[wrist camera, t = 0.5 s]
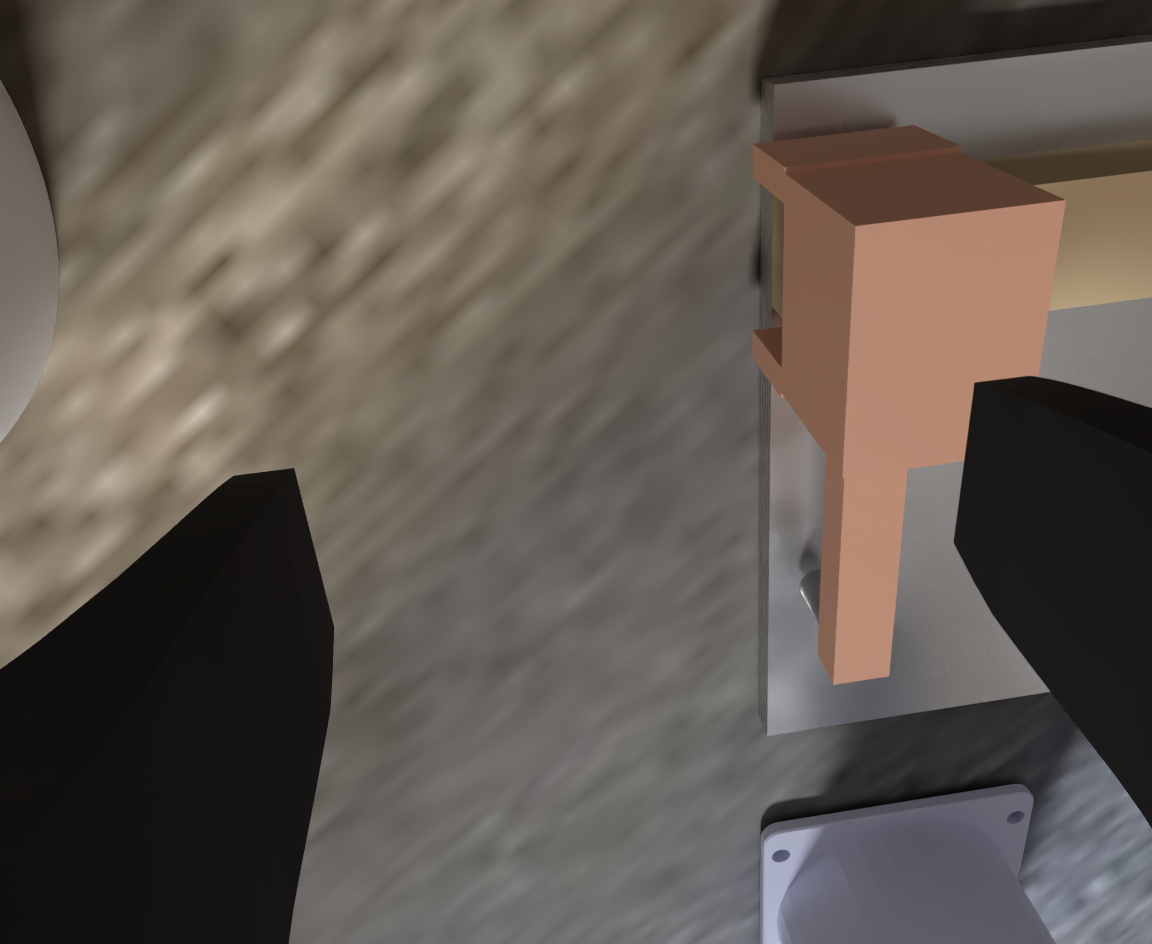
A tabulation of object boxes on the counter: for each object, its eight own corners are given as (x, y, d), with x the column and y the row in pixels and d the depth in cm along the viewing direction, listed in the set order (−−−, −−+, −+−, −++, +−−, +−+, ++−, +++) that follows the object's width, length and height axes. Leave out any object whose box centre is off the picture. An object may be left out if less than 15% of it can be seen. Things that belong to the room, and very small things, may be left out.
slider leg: (877, 588, 23) (980, 746, 19) (752, 607, 23) (826, 770, 19) (913, 125, 18) (1067, 193, 14) (753, 144, 18) (856, 218, 14)
